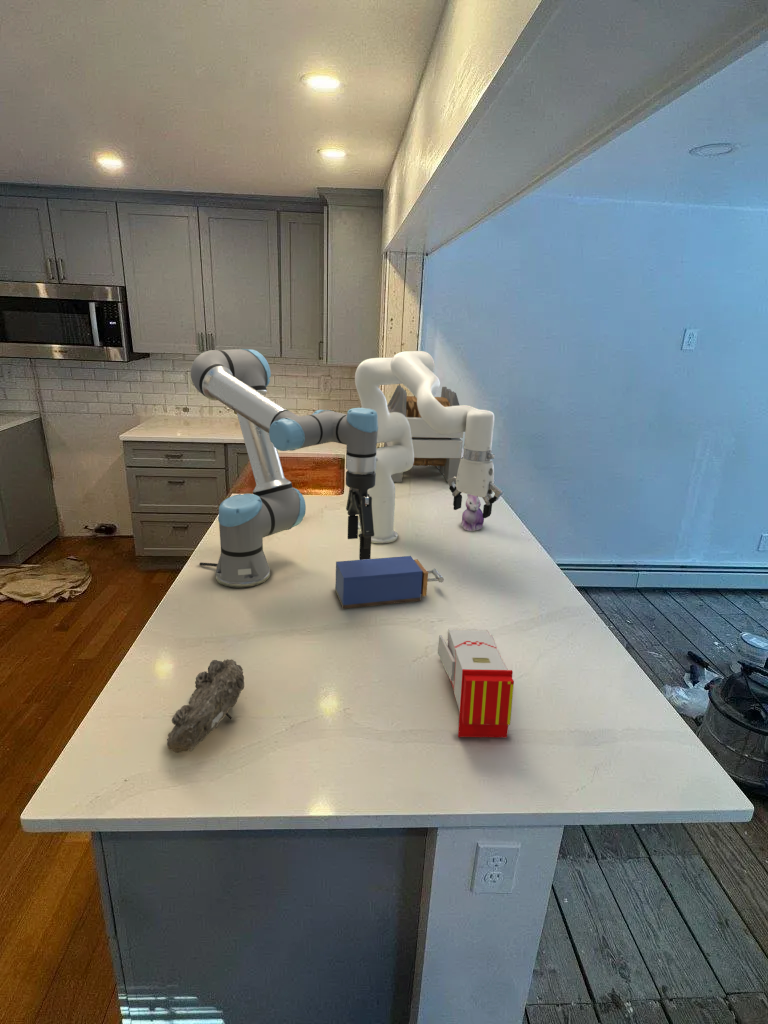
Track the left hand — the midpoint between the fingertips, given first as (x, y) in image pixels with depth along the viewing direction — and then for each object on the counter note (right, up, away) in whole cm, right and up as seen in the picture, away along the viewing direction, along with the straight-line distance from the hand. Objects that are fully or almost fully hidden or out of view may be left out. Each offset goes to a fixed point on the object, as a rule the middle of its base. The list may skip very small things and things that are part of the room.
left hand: (358, 548), depth 150 cm
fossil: (-26, -30, -42) cm, 57 cm away
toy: (+25, -28, -31) cm, 49 cm away
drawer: (+10, -12, +7) cm, 18 cm away
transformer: (+24, +28, +125) cm, 130 cm away
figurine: (+39, +4, +59) cm, 71 cm away
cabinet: (+5, -14, +6) cm, 16 cm away
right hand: (+32, +9, +13) cm, 36 cm away
